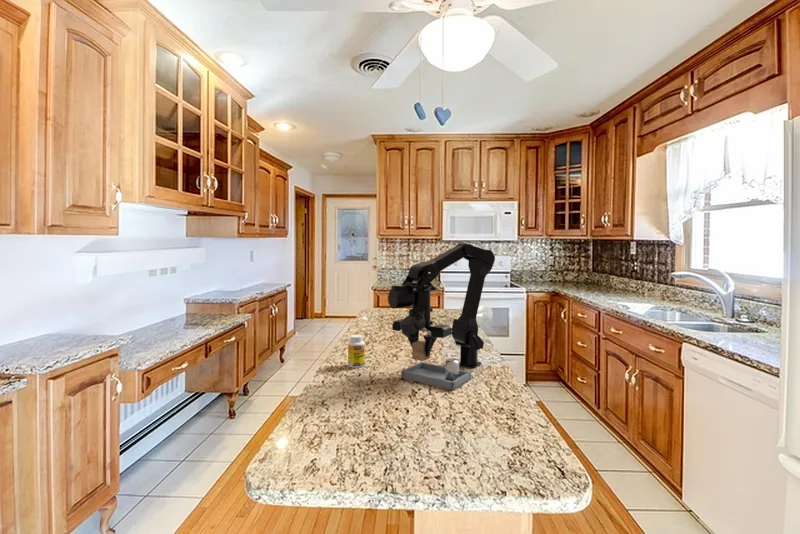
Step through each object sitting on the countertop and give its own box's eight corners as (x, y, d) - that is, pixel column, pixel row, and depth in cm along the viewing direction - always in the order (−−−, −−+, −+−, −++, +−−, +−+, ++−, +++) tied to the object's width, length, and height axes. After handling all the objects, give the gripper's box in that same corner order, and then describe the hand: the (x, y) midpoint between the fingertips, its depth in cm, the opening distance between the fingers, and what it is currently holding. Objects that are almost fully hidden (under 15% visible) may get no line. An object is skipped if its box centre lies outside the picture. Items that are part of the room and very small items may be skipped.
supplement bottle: (352, 369, 130) (352, 338, 129) (345, 365, 134) (345, 335, 134) (367, 366, 133) (367, 336, 132) (360, 362, 138) (359, 333, 137)
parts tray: (421, 368, 131) (421, 361, 131) (471, 379, 120) (471, 372, 120) (401, 377, 122) (401, 370, 122) (453, 390, 111) (453, 382, 111)
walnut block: (419, 355, 127) (419, 340, 126) (430, 357, 124) (430, 342, 124) (412, 358, 124) (412, 342, 123) (423, 361, 121) (423, 344, 121)
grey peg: (449, 376, 121) (450, 357, 120) (461, 379, 118) (461, 360, 118) (442, 380, 118) (443, 360, 117) (454, 383, 115) (454, 363, 115)
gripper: (381, 306, 122) (381, 356, 123) (433, 312, 111) (433, 367, 112) (402, 301, 131) (402, 348, 132) (452, 307, 120) (452, 357, 121)
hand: (421, 355), depth 124 cm, fingers closed on walnut block, 4 cm apart
